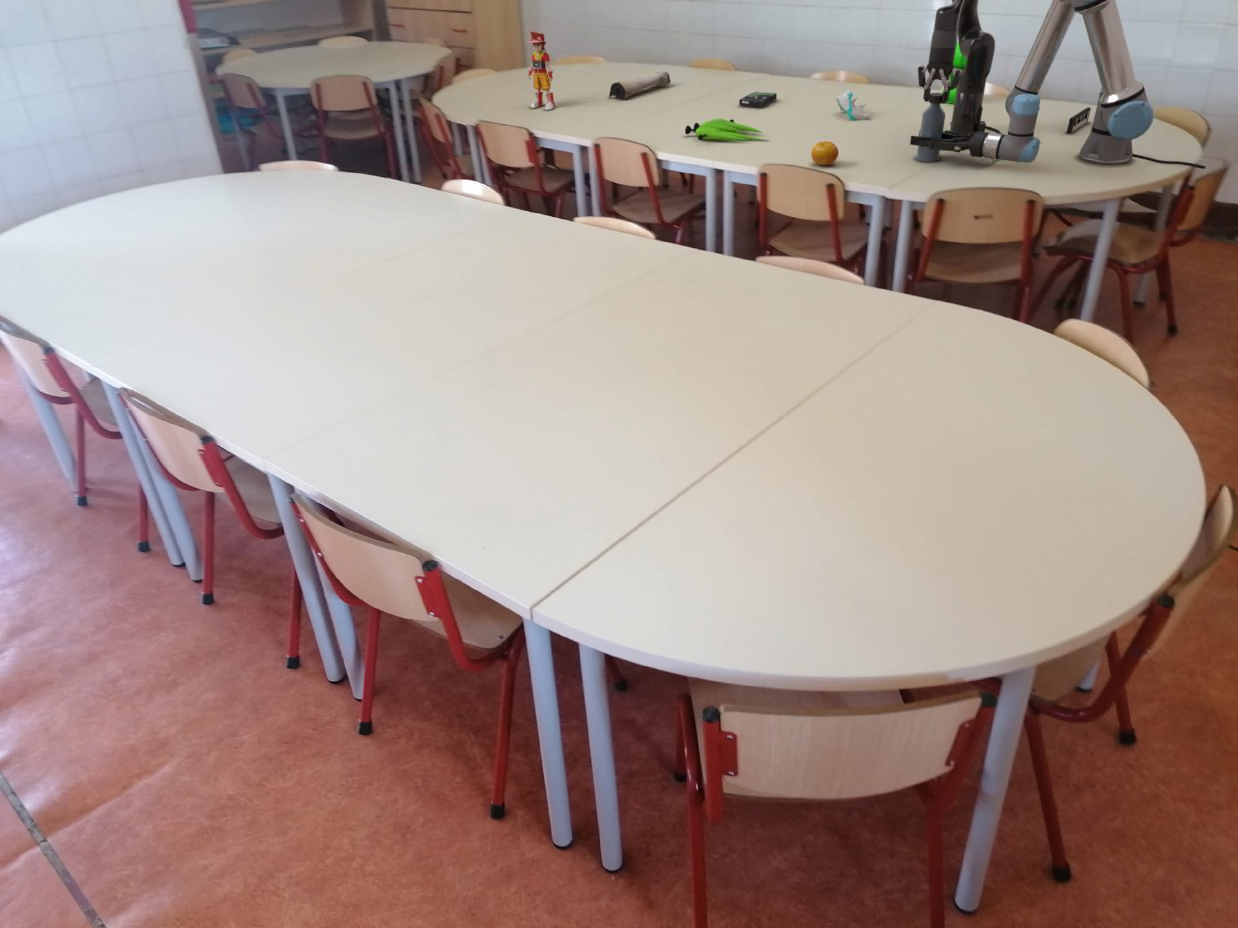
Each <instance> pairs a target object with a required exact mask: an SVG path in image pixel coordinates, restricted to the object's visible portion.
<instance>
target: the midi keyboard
mask: <svg viewBox="0 0 1238 928" xmlns="http://www.w3.org/2000/svg"><path fill="white" fill-rule="evenodd" d="M1091 109H1092V107H1085V108H1084V109H1082V110H1081V111H1079V112H1078V113H1076V114H1075V115H1073V116H1071V117H1070V118H1069V120H1068V124H1067V128H1066V129H1067V130H1066V134H1072V132H1074V131H1075V130H1077V129H1079V128H1080V127H1081V126H1083V125H1085V124H1086V123H1088V122H1089V118H1090V113H1091Z"/></svg>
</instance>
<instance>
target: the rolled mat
mask: <svg viewBox="0 0 1238 928" xmlns="http://www.w3.org/2000/svg"><path fill="white" fill-rule="evenodd" d="M671 83H672V81H671V77H670V74H669V72H668V71H658V72H654V73H649V74H645V75H640V76H637V77H633V78H628V79H623V80H620V81H616V82H613V83H612V84H611V85H610V89H609V95H608V97H609V98H611V97H616V99H620V100H622V101H623V100H626V99H627V98H629V97H630V96H632V95H635V94H636V93H638V92H640V91H643V90H644V89H647V88H650V87H655V86H658V87H659V86H661V87H665V86H669V85H670V84H671Z"/></svg>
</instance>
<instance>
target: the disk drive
mask: <svg viewBox="0 0 1238 928" xmlns="http://www.w3.org/2000/svg"><path fill="white" fill-rule="evenodd" d="M777 97H778V96H777V93H775V92H759V91H755V92H751V93H749V94H747V95H745V96H744V97H742V98H740V99H739V100H738V106H740V107H746V108H758V109H759V108H764V107H766V106H767V105H769V104H771V103H773V102H775V101H776V100H777Z"/></svg>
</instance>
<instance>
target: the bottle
mask: <svg viewBox="0 0 1238 928" xmlns="http://www.w3.org/2000/svg"><path fill="white" fill-rule="evenodd" d="M945 121H946V111H945V110H944V109H943V108H942V106H941V103H940V104H932V103H930V105H929V106H928V107H927V108H926V109H924V111H923V113H922V116H921V122H920V129H919V132H920V136H919V135H918V136H919V137H928V138H930V137H932V139H942V134H943V132H944V129H945V128H944V127H945ZM940 153H941V150H930V149H929V147H925V146H917V150H916V160H917V161H919V162H922V163H933V162H937V161H939V159H940Z"/></svg>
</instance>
